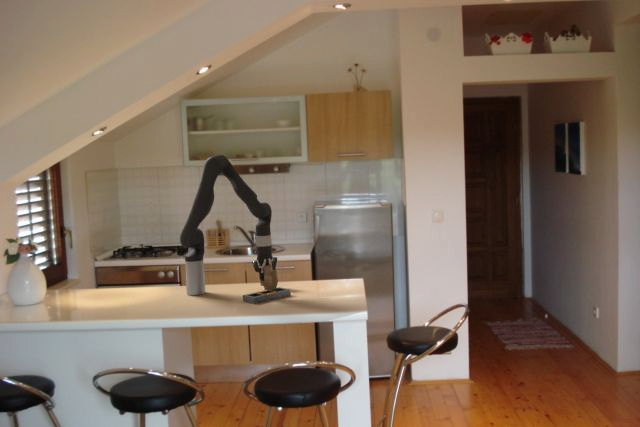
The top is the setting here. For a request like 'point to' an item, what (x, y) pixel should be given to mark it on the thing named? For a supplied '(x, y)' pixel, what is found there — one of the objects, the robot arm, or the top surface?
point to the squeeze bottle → (273, 280)
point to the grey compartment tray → (266, 295)
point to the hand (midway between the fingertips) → (266, 279)
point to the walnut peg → (267, 276)
